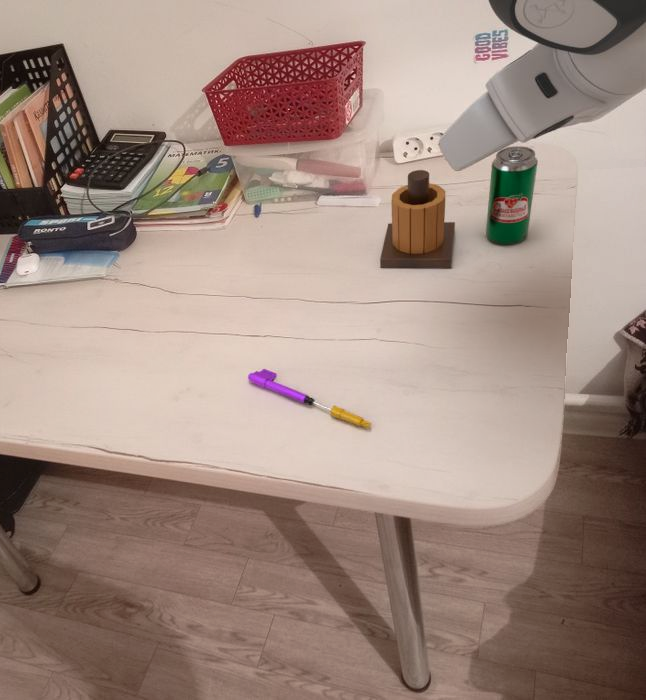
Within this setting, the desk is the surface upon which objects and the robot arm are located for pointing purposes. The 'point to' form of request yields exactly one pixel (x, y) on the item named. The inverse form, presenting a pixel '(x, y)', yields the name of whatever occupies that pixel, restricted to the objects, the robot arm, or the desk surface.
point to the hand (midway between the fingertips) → (489, 143)
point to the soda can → (511, 194)
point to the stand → (432, 259)
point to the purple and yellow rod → (302, 396)
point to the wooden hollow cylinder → (418, 221)
